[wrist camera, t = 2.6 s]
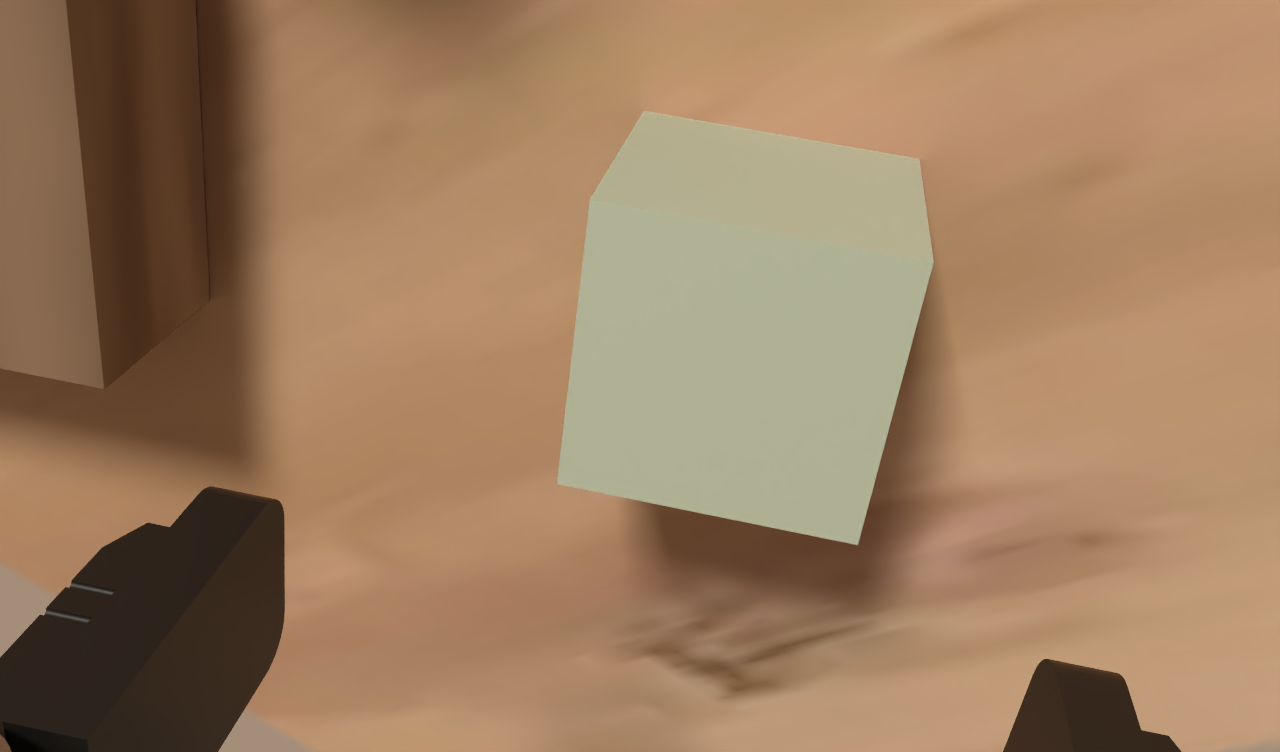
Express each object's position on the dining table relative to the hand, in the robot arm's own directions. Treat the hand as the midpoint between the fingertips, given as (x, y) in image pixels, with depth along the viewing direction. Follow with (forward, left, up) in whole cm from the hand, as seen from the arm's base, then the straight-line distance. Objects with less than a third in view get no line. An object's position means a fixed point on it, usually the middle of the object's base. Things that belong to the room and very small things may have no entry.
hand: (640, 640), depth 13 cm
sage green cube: (0, 0, -12) cm, 12 cm away
